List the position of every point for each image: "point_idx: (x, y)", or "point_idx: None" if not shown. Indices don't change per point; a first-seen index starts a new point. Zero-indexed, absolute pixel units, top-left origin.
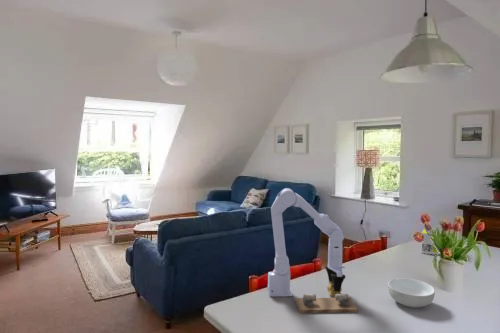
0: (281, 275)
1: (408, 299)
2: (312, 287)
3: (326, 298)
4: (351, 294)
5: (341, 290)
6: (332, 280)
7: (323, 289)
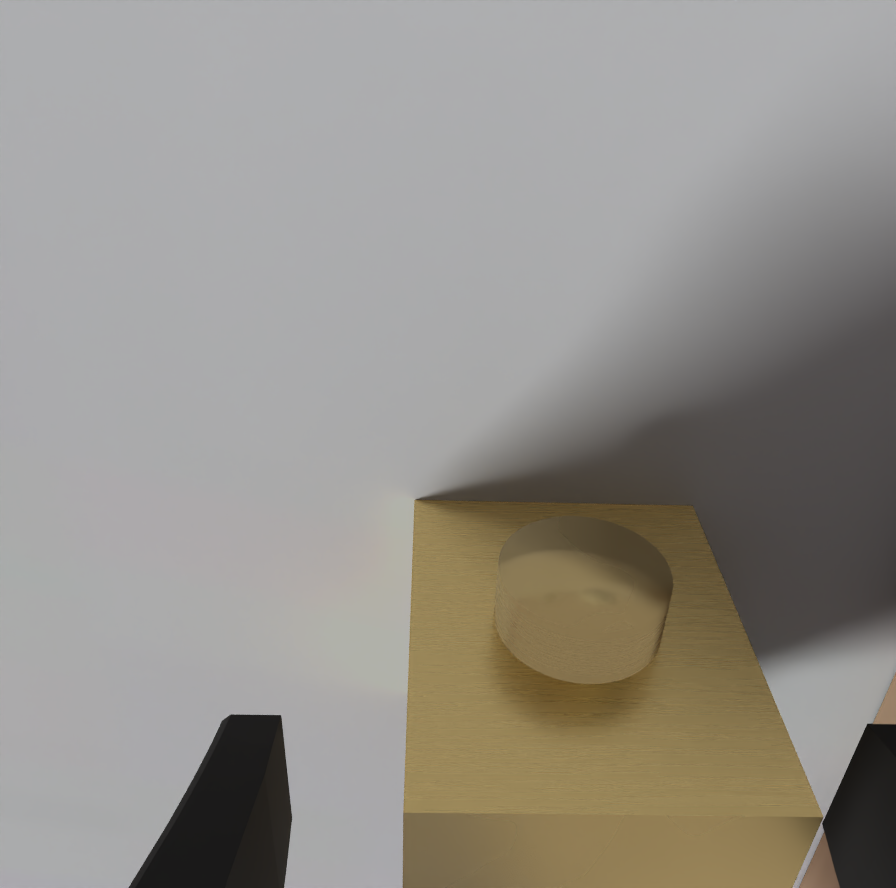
0: None
1: None
2: None
3: None
4: (623, 120)
5: (657, 556)
6: (259, 885)
7: None
